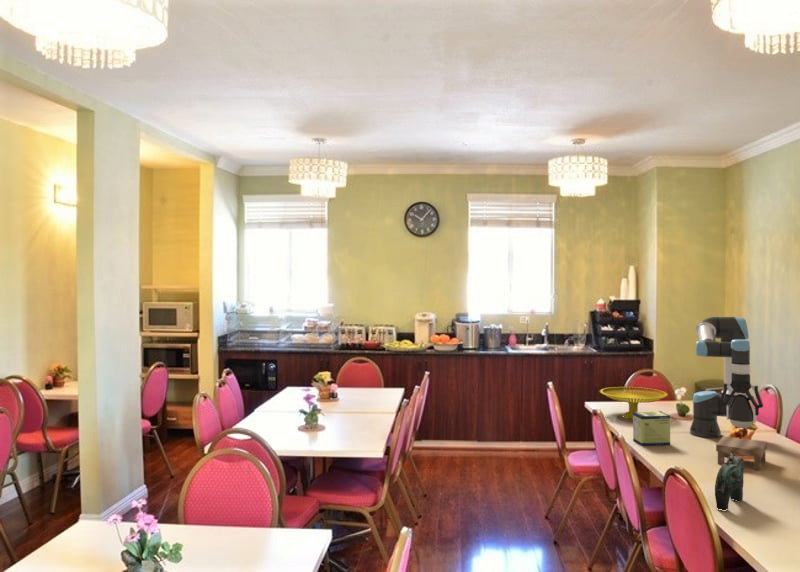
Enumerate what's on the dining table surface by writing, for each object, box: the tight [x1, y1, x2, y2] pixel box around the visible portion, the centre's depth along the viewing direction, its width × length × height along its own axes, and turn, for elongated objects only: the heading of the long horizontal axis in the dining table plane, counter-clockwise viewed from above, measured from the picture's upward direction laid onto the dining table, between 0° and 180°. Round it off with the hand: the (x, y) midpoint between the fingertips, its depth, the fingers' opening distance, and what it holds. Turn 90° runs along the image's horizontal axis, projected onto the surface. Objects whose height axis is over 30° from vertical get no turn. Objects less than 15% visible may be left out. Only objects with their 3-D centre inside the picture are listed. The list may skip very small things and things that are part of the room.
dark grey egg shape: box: [729, 394, 755, 429], centre depth 274 cm, size 10×10×15 cm
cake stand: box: [599, 386, 669, 419], centre depth 370 cm, size 40×40×15 cm
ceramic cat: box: [714, 451, 745, 510], centre depth 224 cm, size 20×6×20 cm, turn 131°
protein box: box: [632, 410, 671, 447], centre depth 310 cm, size 10×16×16 cm
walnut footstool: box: [715, 435, 768, 472], centre depth 275 cm, size 18×18×9 cm
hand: (741, 420), depth 274 cm, fingers closed on dark grey egg shape, 10 cm apart
